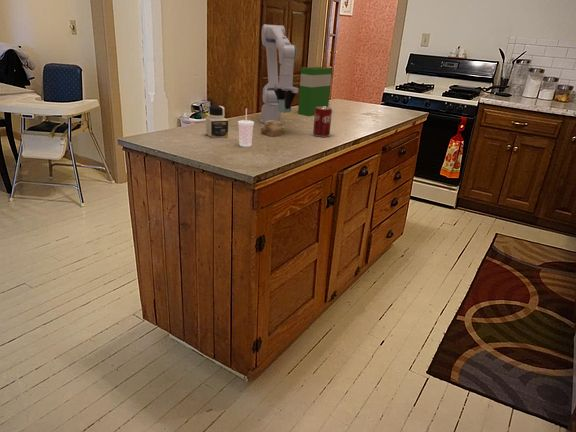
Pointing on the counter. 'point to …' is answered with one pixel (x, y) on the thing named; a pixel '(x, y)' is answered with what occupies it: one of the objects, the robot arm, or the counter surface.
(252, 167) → the counter surface
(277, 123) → the maple cube
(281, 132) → the walnut slab
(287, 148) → the counter surface
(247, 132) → the beverage cup
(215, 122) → the medicine bottle
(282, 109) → the teal block
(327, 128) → the soda can
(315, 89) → the hardback book
